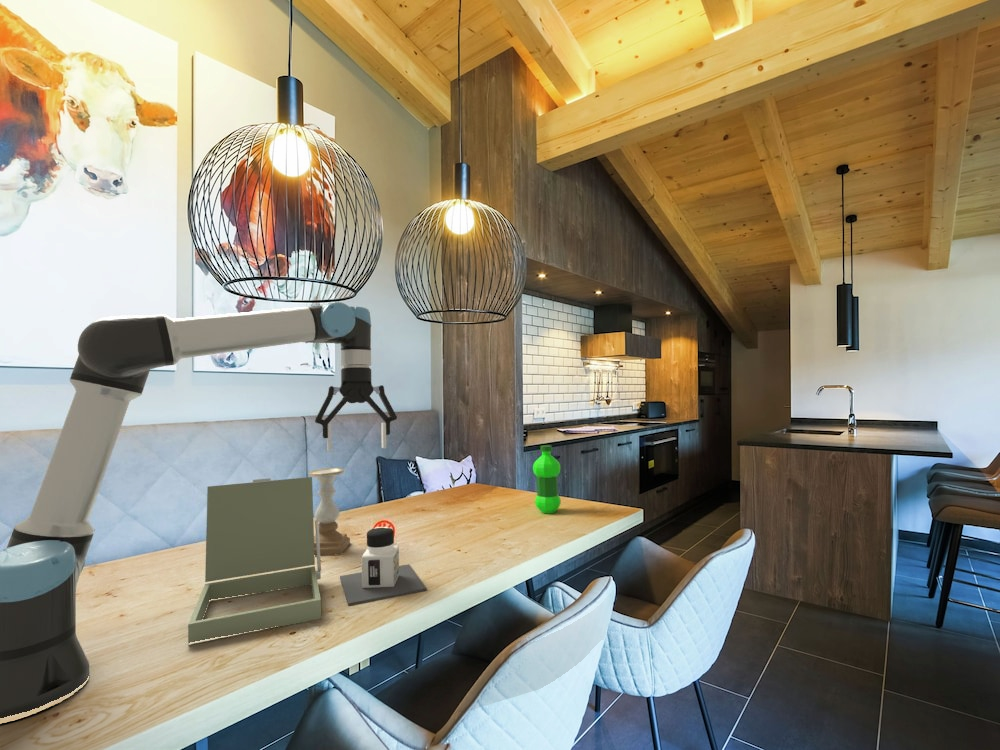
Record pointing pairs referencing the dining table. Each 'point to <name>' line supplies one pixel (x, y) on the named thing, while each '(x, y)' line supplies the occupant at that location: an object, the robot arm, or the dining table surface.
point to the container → (380, 559)
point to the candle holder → (328, 514)
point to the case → (259, 617)
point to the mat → (403, 585)
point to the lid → (259, 527)
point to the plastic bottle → (547, 481)
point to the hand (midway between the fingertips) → (357, 449)
